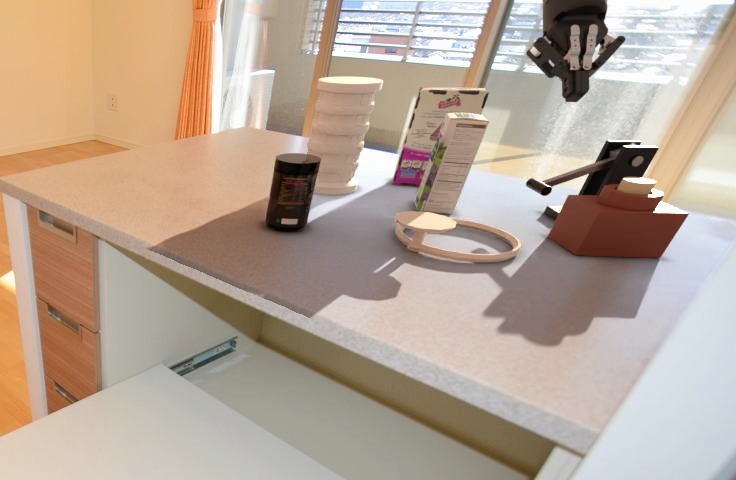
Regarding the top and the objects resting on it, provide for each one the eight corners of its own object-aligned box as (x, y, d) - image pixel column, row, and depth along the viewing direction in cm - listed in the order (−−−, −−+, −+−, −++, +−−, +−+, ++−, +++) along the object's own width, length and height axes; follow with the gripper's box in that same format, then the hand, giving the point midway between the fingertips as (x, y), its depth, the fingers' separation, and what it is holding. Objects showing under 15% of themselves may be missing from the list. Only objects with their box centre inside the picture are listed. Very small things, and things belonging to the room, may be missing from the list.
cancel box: (625, 238, 82) (658, 183, 77) (660, 258, 76) (698, 199, 71) (547, 236, 84) (574, 181, 79) (575, 255, 77) (607, 197, 73)
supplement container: (300, 219, 92) (314, 152, 85) (311, 233, 86) (327, 163, 80) (260, 219, 92) (271, 153, 86) (268, 233, 87) (281, 163, 80)
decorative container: (369, 190, 105) (400, 81, 93) (322, 197, 101) (348, 85, 90) (328, 176, 113) (352, 74, 102) (283, 182, 110) (302, 78, 99)
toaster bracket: (575, 232, 85) (619, 150, 77) (543, 212, 92) (580, 136, 85) (638, 234, 84) (689, 151, 76) (601, 214, 91) (644, 137, 84)
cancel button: (637, 190, 76) (645, 176, 75) (654, 197, 74) (662, 183, 72) (609, 189, 77) (617, 176, 76) (625, 196, 74) (633, 183, 73)
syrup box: (413, 202, 98) (443, 111, 89) (449, 205, 97) (484, 113, 88) (416, 211, 94) (448, 117, 85) (454, 214, 92) (491, 119, 83)
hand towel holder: (563, 223, 76) (453, 243, 70) (547, 253, 78) (440, 275, 73) (460, 191, 88) (360, 206, 83) (449, 218, 91) (352, 235, 85)
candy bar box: (452, 183, 107) (488, 87, 97) (454, 190, 104) (491, 91, 93) (390, 178, 111) (419, 85, 101) (390, 185, 107) (420, 88, 97)
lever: (540, 200, 85) (541, 185, 83) (525, 191, 89) (525, 177, 87) (646, 164, 80) (648, 148, 79) (625, 156, 84) (627, 141, 83)
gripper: (601, 16, 87) (603, 115, 85) (512, 18, 89) (512, 115, 87) (642, -28, 80) (645, 79, 78) (544, -25, 81) (545, 80, 79)
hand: (575, 98), depth 82 cm, fingers closed
